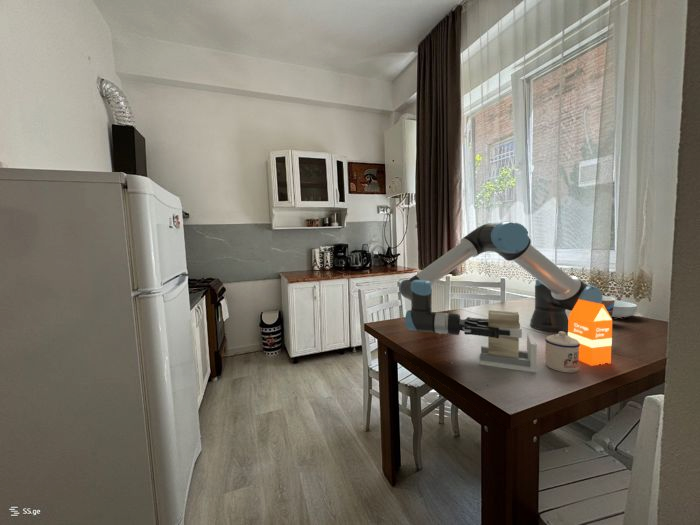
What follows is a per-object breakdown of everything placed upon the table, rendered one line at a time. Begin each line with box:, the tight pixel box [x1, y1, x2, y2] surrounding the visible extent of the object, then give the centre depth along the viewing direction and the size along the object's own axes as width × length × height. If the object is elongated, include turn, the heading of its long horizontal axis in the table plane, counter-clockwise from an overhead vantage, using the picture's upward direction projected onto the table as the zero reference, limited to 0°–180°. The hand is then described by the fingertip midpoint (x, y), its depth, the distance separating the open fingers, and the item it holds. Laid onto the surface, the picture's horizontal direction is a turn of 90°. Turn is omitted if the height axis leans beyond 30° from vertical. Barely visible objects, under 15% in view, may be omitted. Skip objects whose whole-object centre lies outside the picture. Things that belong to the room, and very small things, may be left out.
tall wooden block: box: [487, 309, 520, 358], centre depth 99 cm, size 4×9×16 cm, turn 64°
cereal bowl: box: [612, 300, 638, 318], centre depth 147 cm, size 17×17×7 cm
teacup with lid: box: [544, 331, 580, 374], centre depth 95 cm, size 12×9×12 cm
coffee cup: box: [601, 295, 617, 319], centre depth 138 cm, size 10×10×12 cm
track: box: [479, 332, 538, 374], centre depth 99 cm, size 16×11×9 cm
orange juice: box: [567, 299, 613, 367], centre depth 99 cm, size 8×9×20 cm
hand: (520, 330), depth 97 cm, fingers open, 6 cm apart
